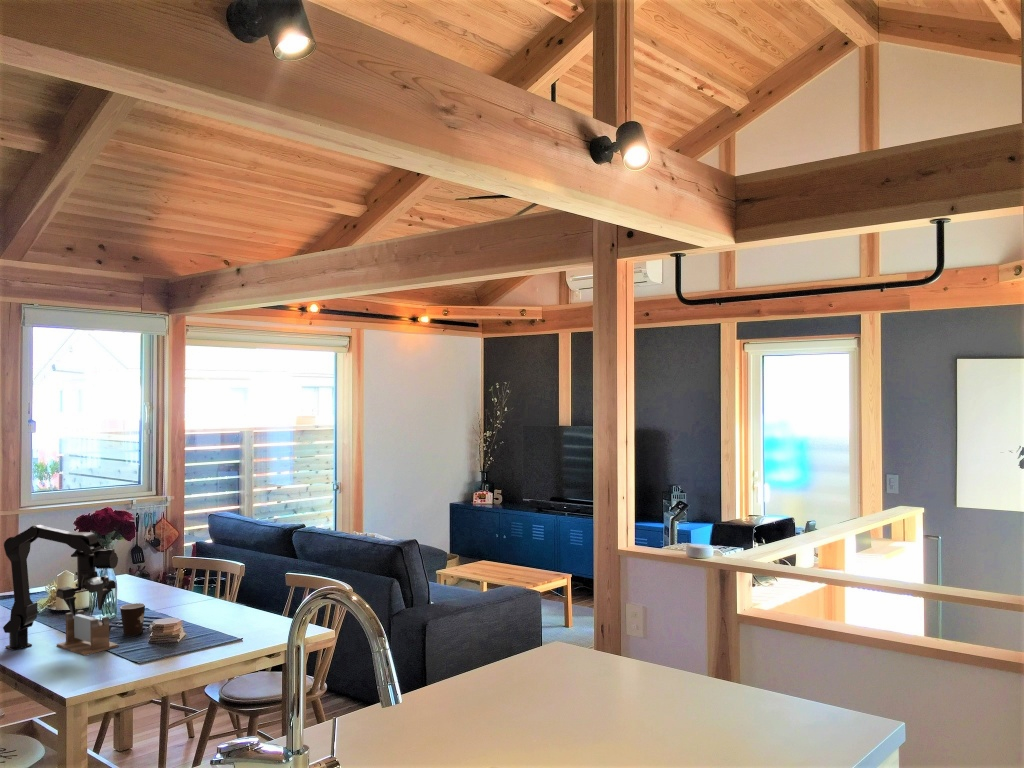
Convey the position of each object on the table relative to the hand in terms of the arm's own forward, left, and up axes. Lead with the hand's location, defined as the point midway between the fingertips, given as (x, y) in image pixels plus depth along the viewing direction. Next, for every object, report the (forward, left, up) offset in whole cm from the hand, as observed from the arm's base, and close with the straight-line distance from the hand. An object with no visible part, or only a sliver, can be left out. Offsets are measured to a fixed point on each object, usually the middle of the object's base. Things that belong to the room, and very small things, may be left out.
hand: (87, 612), depth 296 cm
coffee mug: (-3, +20, -12) cm, 24 cm away
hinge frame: (0, 0, -12) cm, 12 cm away
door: (0, 0, -10) cm, 10 cm away
